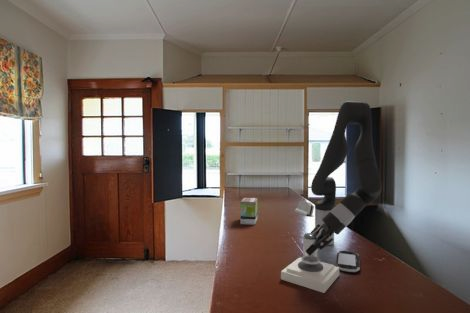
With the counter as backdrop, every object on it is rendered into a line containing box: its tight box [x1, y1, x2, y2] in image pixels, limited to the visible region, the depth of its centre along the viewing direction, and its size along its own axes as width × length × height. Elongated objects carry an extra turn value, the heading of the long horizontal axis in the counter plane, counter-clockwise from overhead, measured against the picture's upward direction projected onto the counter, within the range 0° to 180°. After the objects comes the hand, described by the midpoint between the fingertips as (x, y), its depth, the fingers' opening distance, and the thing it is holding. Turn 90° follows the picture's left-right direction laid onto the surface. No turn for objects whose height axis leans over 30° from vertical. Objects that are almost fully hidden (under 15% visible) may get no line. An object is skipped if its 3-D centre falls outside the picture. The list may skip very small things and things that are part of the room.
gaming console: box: [335, 250, 361, 274], centre depth 114 cm, size 19×9×2 cm, turn 157°
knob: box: [301, 232, 321, 265], centre depth 101 cm, size 6×6×10 cm
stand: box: [280, 256, 340, 294], centre depth 101 cm, size 16×16×4 cm
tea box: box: [240, 197, 258, 226], centre depth 180 cm, size 15×10×15 cm
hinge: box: [294, 200, 315, 217], centre depth 202 cm, size 17×5×10 cm, turn 17°
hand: (305, 250), depth 101 cm, fingers closed on knob, 5 cm apart
